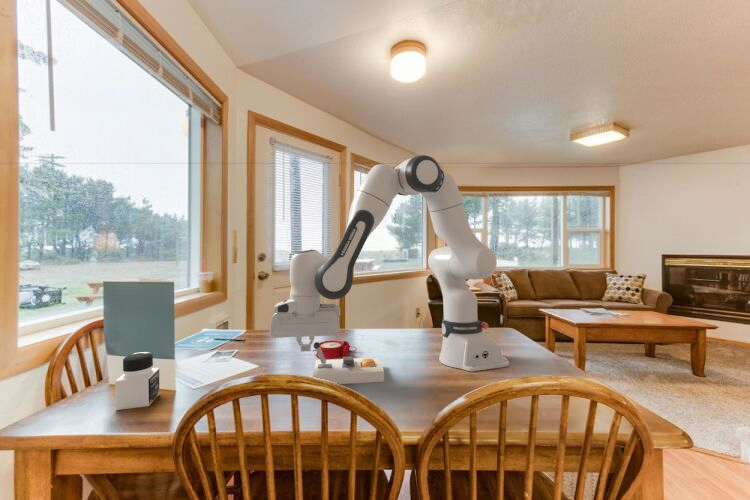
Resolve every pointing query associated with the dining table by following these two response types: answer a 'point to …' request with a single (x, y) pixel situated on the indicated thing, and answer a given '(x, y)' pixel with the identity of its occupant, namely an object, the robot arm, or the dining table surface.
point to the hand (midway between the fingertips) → (305, 350)
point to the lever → (319, 352)
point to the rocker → (348, 360)
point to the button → (367, 363)
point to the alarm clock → (335, 349)
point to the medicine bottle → (137, 382)
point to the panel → (349, 371)
